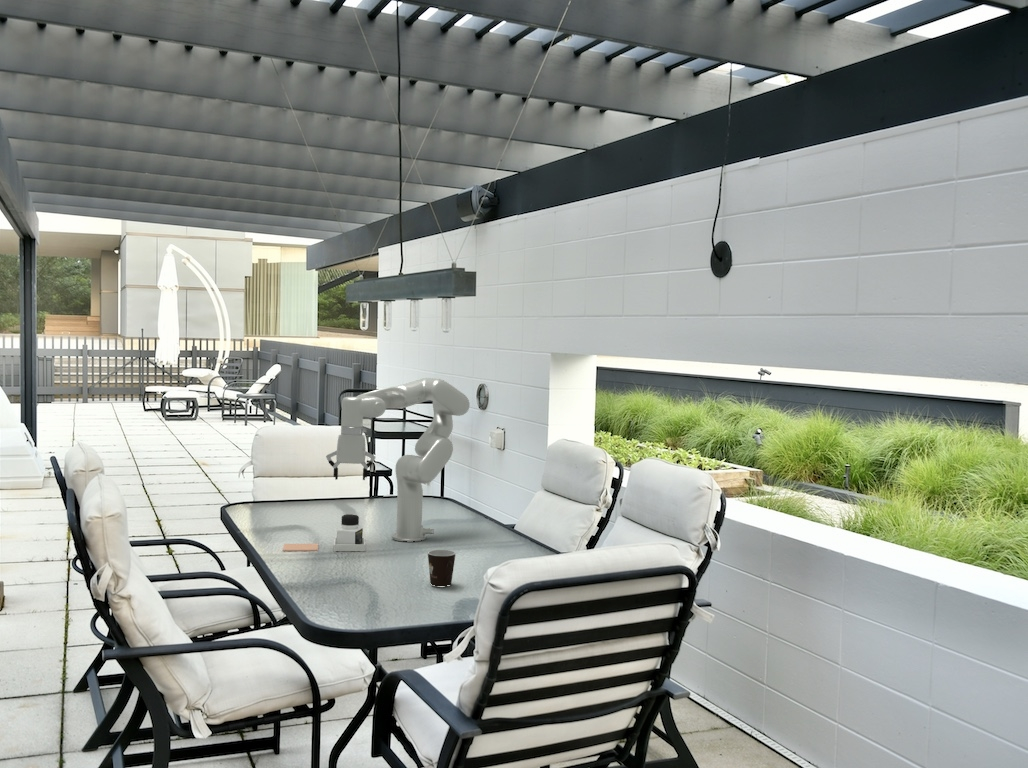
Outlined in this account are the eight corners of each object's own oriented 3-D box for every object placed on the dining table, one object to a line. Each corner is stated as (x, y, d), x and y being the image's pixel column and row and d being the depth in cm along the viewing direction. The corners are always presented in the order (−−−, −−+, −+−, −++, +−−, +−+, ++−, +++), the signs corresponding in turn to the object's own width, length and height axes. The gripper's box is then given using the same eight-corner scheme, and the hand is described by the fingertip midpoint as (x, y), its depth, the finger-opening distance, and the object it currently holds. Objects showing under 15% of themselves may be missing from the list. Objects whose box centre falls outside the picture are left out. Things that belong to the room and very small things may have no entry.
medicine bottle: (355, 551, 331) (356, 517, 330) (336, 549, 332) (337, 516, 332) (362, 546, 338) (363, 513, 337) (343, 545, 339) (344, 512, 339)
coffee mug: (427, 580, 294) (428, 549, 293) (454, 581, 295) (455, 549, 294) (426, 591, 282) (427, 558, 282) (454, 591, 283) (455, 558, 282)
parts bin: (364, 544, 341) (365, 537, 341) (365, 551, 330) (365, 544, 330) (334, 544, 339) (334, 537, 339) (333, 551, 329) (333, 544, 328)
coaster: (318, 545, 338) (318, 543, 338) (317, 551, 328) (317, 549, 328) (284, 545, 336) (284, 543, 336) (282, 551, 326) (282, 550, 326)
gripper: (376, 431, 338) (374, 478, 339) (327, 429, 336) (326, 477, 336) (376, 433, 331) (374, 481, 332) (326, 432, 328) (324, 480, 329)
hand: (350, 479), depth 334 cm, fingers open, 9 cm apart
